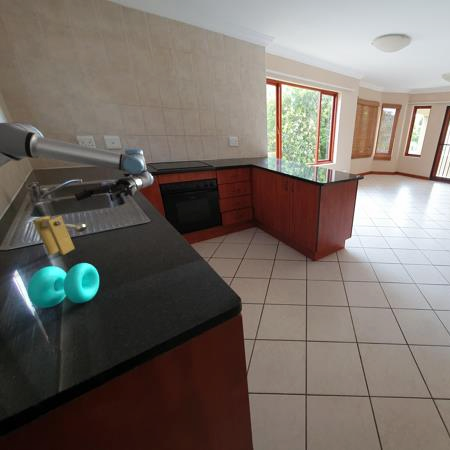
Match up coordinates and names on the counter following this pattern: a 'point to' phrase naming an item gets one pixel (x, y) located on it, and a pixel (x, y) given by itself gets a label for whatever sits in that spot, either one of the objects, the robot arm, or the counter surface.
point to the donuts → (63, 285)
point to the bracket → (54, 235)
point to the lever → (77, 227)
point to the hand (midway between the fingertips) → (93, 197)
